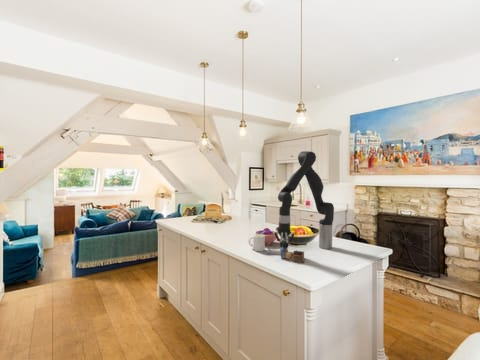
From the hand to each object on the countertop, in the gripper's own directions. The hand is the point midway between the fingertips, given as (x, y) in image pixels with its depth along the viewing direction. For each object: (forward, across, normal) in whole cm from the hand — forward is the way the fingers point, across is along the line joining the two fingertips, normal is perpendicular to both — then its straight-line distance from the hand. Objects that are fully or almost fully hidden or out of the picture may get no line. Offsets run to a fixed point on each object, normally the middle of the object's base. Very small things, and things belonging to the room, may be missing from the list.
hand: (284, 247), depth 170 cm
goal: (+5, -10, +8) cm, 14 cm away
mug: (+5, +20, -6) cm, 22 cm away
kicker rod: (+4, 0, +4) cm, 6 cm away
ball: (+3, -3, +8) cm, 10 cm away
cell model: (+5, +16, -25) cm, 30 cm away
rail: (+5, +1, 0) cm, 5 cm away
